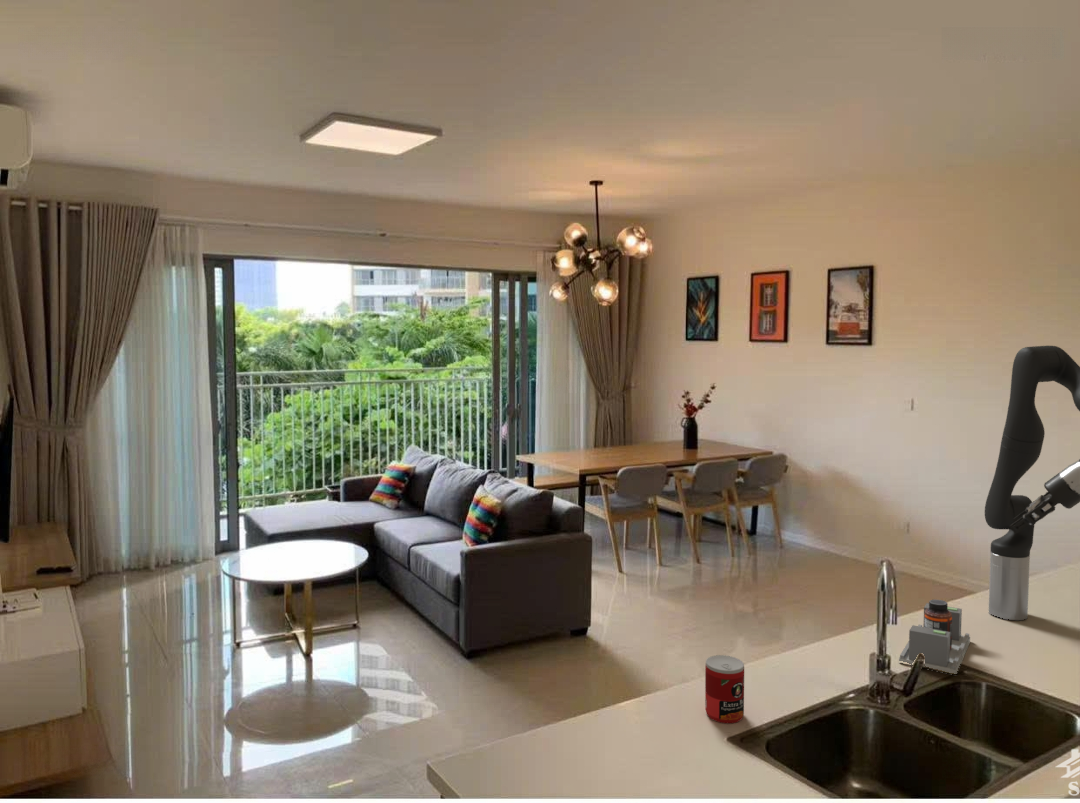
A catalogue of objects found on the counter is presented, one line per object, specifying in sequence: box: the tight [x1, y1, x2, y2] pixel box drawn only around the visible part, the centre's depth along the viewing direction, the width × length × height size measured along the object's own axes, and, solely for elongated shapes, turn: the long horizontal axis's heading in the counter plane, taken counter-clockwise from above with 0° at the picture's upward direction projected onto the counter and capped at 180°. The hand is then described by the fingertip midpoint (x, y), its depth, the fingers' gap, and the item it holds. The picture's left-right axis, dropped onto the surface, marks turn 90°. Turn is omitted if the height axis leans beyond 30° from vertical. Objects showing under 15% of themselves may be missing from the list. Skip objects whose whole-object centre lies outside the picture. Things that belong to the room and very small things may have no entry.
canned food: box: [704, 654, 745, 724], centre depth 159 cm, size 8×8×11 cm
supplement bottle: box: [925, 598, 952, 649], centre depth 189 cm, size 6×6×11 cm
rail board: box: [898, 602, 971, 674], centre depth 189 cm, size 24×12×8 cm, turn 145°
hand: (1014, 526), depth 188 cm, fingers open, 8 cm apart
